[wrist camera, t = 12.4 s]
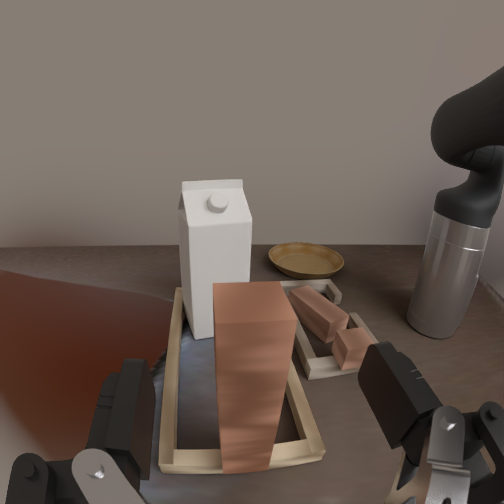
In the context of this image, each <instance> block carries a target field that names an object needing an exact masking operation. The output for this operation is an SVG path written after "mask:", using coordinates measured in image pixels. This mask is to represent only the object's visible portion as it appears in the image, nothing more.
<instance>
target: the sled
mask: <svg viewBox="0 0 504 504" xmlns="http://www.w3.org/2000/svg"><path fill="white" fill-rule="evenodd" d="M183 310H184V308H183V296H182V287H176V291H175V298H174V305H173V311H172V319H171V327H170V334H169V342H168V350H167V358H166V368H165V377H164V388H163V399H162V411H161V425H160V441H159V463H158V465H159V467H160V469H161V471H162V473H171V474H215V473H223V474H236V473H248V472H257V471H266V470H268V469H273V468H280V467H286V466H292V465H298V464H303V463H308V462H313V461H318V460H321V459H322V457H323V455H324V453H325V452H326V450H325V447H324V444H323V442H322V439H321V436H320V434H319V431H318V428H317V426H316V423H315V420H314V418H313V415H312V412H311V410H310V407H309V404H308V402H307V399H306V396H305V394H304V391H303V388H302V386H301V383H300V380H299V378H298V375H297V372H296V370H295V367H294V364H293V362H292V359H291V356H292V350H293V344H294V338H295V332H296V326H297V320H298V319H297V317H296V315H295V313H294V311H293V309H292V307H291V304H290V302H289V300H288V298H287V296H286V294H285V292H284V290H283V288H282V286H281V283H280V281H266V282H232V283H213V324H214V352H215V374H216V393H217V409H218V425H219V438H220V448H221V449H202V450H178V449H177V410H178V384H179V365H180V349H181V335H182V322H183ZM285 392H286V395H287V398H288V402H289V405H290V408H291V411H292V414H293V417H294V421H295V424H296V427H297V430H298V433H299V436H300V439H301V440H299V441H292V442H286V443H279V444H274V442H275V437H276V433H277V428H278V424H279V419H280V414H281V409H282V404H283V399H284V394H285Z"/></svg>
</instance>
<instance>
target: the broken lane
mask: <svg viewBox="0 0 504 504" xmlns="http://www.w3.org/2000/svg"><path fill="white" fill-rule="evenodd" d="M280 283H281V286H282V288H283V290H284V292H285V294H286V296H287V298H288V300H289V302H290V304H291V307H292V309H293V311H294V313H295V315H296V317H297V319H298V320H297V326H296V332H295V338H294V346H295V349H296V351H297V354H298V356H299V359H300V361H301V364H302V366H303V369H304V371H305V373H306V376H307V378H308V380H312V379H319V378H325V377H331V376H337V375H343V374H348V373H353V372H359V369H360V367H361V364H362V362H363V359H364V356H365V353H366V351H367V348H368V346H369V345H370V344H375V343H379V342H378V341H377V340H376V338H375V337H374V336H373V334H372V333H371V332H370V330H369V329H368V328H367V326H366V325H365V324H364V322H363V321H362V320H361V318H360V317H359V316H358V314H357V313H356V312H355V313H349V314H347V313H346V312H344V311H343V310H342V309H340V308H339V307H337V306H336V305H337V304H340V302H341V298H342V294H341V292H340V291H339V290H338V288H337V287H336V286H335V285H334V283H333V282H332V281H331V280H330V279H321V280H299V281H280ZM324 293H325V294H326V295H327V296H328V298H329V299H330V301H331V302H330V301H329V300H328V299H326V298H325V297H324V296H322V295H321V294H324ZM288 296H289V297H288ZM300 322H301V323H302V324H303V325H304V326H306V327H307V328H308V329H309V330H310V331H311V332H312V333H314V334H315V335H316V336H317V337H318V338H319V339H320V340H322V341H323V342H324V343H325V344H327V343H329V342H331V341H333V340H334V342H333V346H332V349H331V351H332V353H333V355H334V356H327V357H320V358H317V357H316V355H315V353H314V351H313V349H312V347H311V345H310V342H309V340H308V338H307V336H306V334H305V332H304V330H303V328H302V326H301V324H300ZM347 326H348V327H349V329H346V327H347Z"/></svg>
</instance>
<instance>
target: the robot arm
mask: <svg viewBox="0 0 504 504" xmlns="http://www.w3.org/2000/svg"><path fill="white" fill-rule="evenodd" d="M431 141H432V145H433V148H434V150H435V152H436V153H437V155H438V156H439V157H440V158H441V159H442V160H443V161H445V162H447V163H449V164H451V165H453V166H456V167H460V168H464V169H467V170H470V174H469V177H468V179H467V181H466V182H464V183H463V184H461V185H459V186H457V187H454V188H449V189H444V190H441V191H440V192H438V194H437V196H436V200H435V206H434V211H433V216H432V221H431V226H430V231H429V236H428V240H427V244H426V248H425V252H424V256H423V260H422V264H421V268H420V271H419V275H418V278H417V282H416V285H415V288H414V292H413V295H412V298H411V301H410V304H409V307H408V310H407V313H406V319H407V321H408V323H409V324H410V325H411V326H412V327H413V328H414V329H415V330H417V331H418V332H420V333H422V334H424V335H426V336H429V337H433V338H440V339H442V338H448V337H450V336H452V335H453V334H454V333H455V330H456V328H459V327H460V324H461V322H462V320H463V317H464V315H465V312H466V310H467V307H468V305H469V302H470V300H471V297H472V294H473V292H474V289H475V286H476V283H477V280H478V274H477V273H478V270H479V267H480V264H481V260H482V257H483V253H484V250H485V246H486V242H487V238H488V234H489V230H490V226H491V222H492V218H493V216H494V214H495V212H496V210H497V208H498V206H499V203H500V199H501V194H502V189H503V183H504V66H503V67H502V68H500V69H499V70H497V71H496V72H495V73H493V74H492V75H490V76H489V77H487V78H486V79H484V80H483V81H481V82H480V83H478V84H476V85H474V86H473V87H471V88H469V89H467V90H465V91H463V92H461V93H459V94H456V95H454V96H452V97H451V98H449V99H447V100H446V101H445V102H444V103H443V104H442V105H441V106H440V107H439V109H438V110H437V112H436V114H435V116H434V118H433V122H432V126H431ZM358 382H359V385H360V387H361V389H362V391H363V393H364V395H365V397H366V399H367V401H368V403H369V405H370V407H371V409H372V411H373V413H374V415H375V417H376V419H377V421H378V423H379V425H380V427H381V429H382V431H383V433H384V435H385V437H386V439H387V441H388V443H389V445H390V447H391V449H395V448H398V447H400V446H403V448H404V451H403V452H402V455H401V458H400V462H399V466H398V470H397V473H396V477H395V480H394V483H393V487H392V490H391V492H390V495H389V496H388V498H387V499H386V501H385V502H384V504H504V409H503V408H502V407H501V406H500V405H499V404H497V403H495V402H486V403H484V404H483V405H482V406H481V407H480V409H479V410H478V411H477V412H470V413H461V412H460V411H459V410H458V409H456V408H454V407H452V406H443V405H442V404H441V402H440V401H439V399H438V398H437V396H436V395H435V393H434V392H433V391H432V389H431V388H430V386H429V385H428V383H427V382H426V381H425V379H424V378H422V375H421V373H420V372H419V371H417V368H416V366H415V365H414V364H413V362H412V361H411V360H410V359H409V358H408V357H407V356H405V355H404V354H402V353H401V352H397V351H396V350H395V348H394V347H393V345H392V344H391V343H390V342H388V341H386V342H381V343H375V344H370V345H369V346H368V348H367V351H366V353H365V356H364V359H363V362H362V364H361V367H360V369H359V372H358ZM99 396H100V397H99V399H98V402H97V408H96V410H95V414H94V417H93V421H92V426H91V429H90V434H89V439H88V442H87V446H86V448H85V449H84V450H83V451H81V452H80V453H78V454H77V455H76V456H75V458H73V459H70V460H64V461H50V462H45V461H44V460H43V459H42V458H41V457H40V456H38V455H36V454H33V453H25V454H22V455H20V456H19V457H17V459H16V460H15V461H14V463H13V466H12V471H11V475H10V480H9V485H8V491H7V497H6V503H5V504H149V503H148V502H147V500H146V499H145V498H144V496H143V495H142V494H141V493H140V491H139V489H140V480H149V478H150V461H151V447H152V434H153V423H154V413H155V404H156V394H155V387H154V383H153V380H152V376H151V373H150V369H149V366H148V362H147V360H146V359H127V358H126V359H125V360H124V362H123V365H122V369H121V373H113V372H112V373H111V374H110V375H109V376H108V377H107V378H106V380H105V381H104V382H103V384H102V388H101V392H100V395H99ZM484 446H485V447H486V449H487V450H488V452H489V454H490V456H491V458H492V460H493V461H494V463H495V466H496V471H495V473H494V474H492V473H491V471H490V469H489V467H488V466H487V464H486V462H485V460H484V458H483V456H482V454H481V452H480V450H481V449H482V448H483V447H484Z"/></svg>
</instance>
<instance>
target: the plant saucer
mask: <svg viewBox="0 0 504 504" xmlns="http://www.w3.org/2000/svg"><path fill="white" fill-rule="evenodd" d="M268 255H269V258H270V259H271V261H272V263H273V264H274V265H275V266H276V267H277V268H278V269H279V270H280V271H281V272H283V273H284V274H286V275H288V276H290V277H293V278H297V279H302V280H321V279H325V278H327V277H329V276H331V275H333V274H334V273H336V272H337V271H338V270H340V269H341V268H342V267H343V265H344V260H343V258H342V256H340V254H338V253H337V252H335V251H334V250H332V249H329V248H327V247H324V246H321V245H317V244H311V243H302V242H293V243H284V244H279V245H277V246H274V247H273V248H271V249H270V251H269V253H268Z"/></svg>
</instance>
